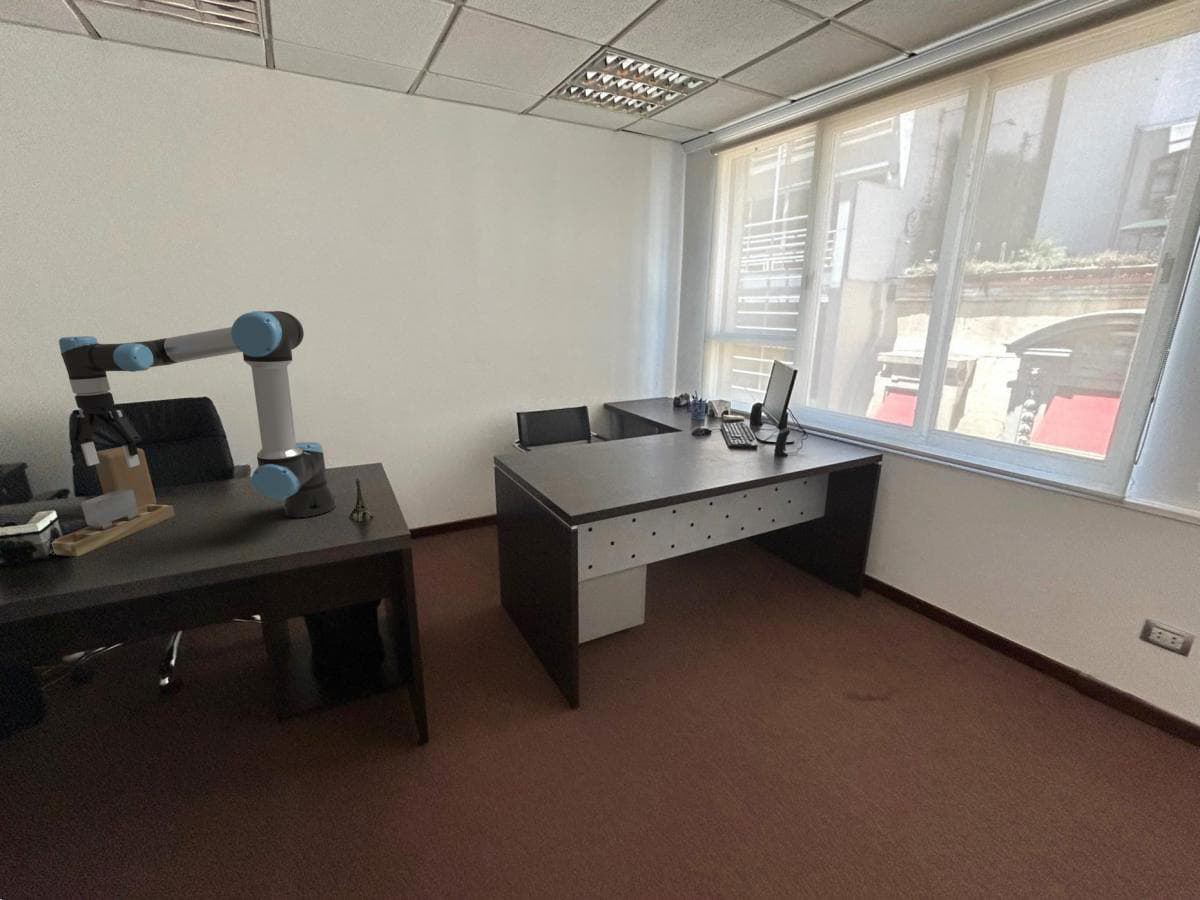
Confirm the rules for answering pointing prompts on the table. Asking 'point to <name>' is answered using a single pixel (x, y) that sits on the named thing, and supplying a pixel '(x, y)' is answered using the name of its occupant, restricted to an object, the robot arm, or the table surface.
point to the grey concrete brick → (110, 509)
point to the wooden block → (125, 475)
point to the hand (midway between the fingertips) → (113, 465)
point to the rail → (110, 531)
